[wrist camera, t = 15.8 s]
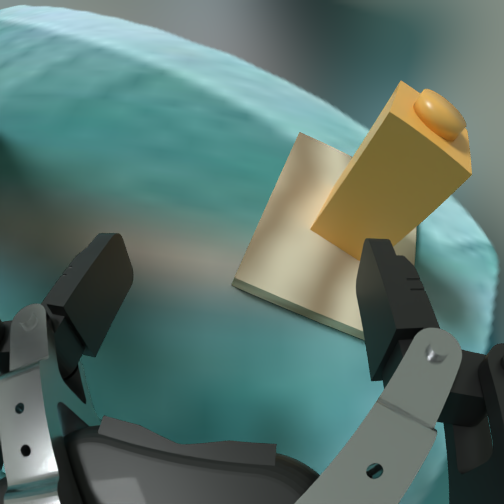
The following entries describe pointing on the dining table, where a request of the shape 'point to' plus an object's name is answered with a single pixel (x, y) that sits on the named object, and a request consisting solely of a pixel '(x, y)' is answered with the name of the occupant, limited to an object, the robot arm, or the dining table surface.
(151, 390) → the dining table surface
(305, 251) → the beige board with knob
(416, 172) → the tall orange toy brick
